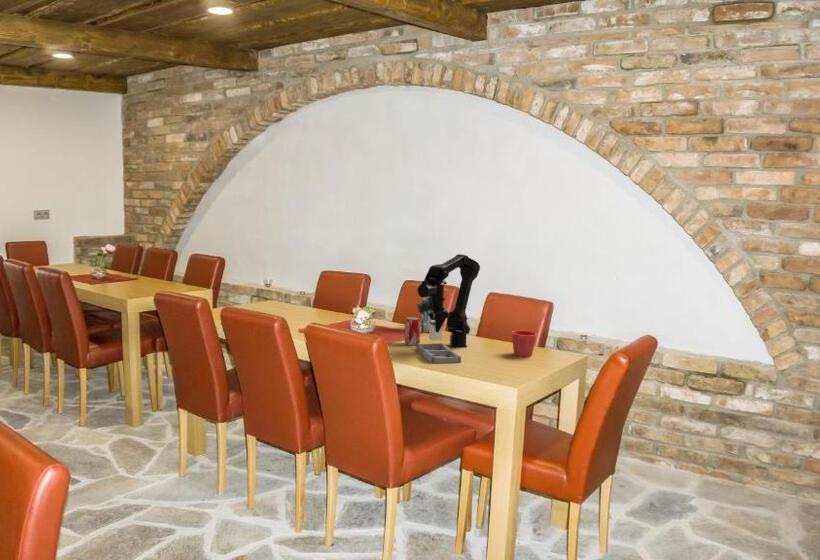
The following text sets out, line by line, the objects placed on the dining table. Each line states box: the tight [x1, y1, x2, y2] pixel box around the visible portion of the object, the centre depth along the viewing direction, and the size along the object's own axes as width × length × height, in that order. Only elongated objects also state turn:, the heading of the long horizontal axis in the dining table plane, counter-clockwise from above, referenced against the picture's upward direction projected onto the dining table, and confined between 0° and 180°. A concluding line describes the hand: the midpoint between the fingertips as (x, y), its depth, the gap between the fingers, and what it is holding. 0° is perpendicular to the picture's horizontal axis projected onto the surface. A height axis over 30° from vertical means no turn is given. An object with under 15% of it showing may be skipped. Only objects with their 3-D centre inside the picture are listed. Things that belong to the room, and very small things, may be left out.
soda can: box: [404, 316, 422, 346], centre depth 316 cm, size 7×7×12 cm
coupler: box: [428, 320, 444, 341], centre depth 300 cm, size 5×5×8 cm
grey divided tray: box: [416, 343, 462, 364], centre depth 296 cm, size 12×26×3 cm, turn 14°
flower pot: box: [511, 330, 537, 358], centre depth 301 cm, size 11×11×10 cm
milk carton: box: [420, 297, 431, 334], centre depth 347 cm, size 9×9×25 cm
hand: (435, 331), depth 300 cm, fingers closed on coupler, 4 cm apart
